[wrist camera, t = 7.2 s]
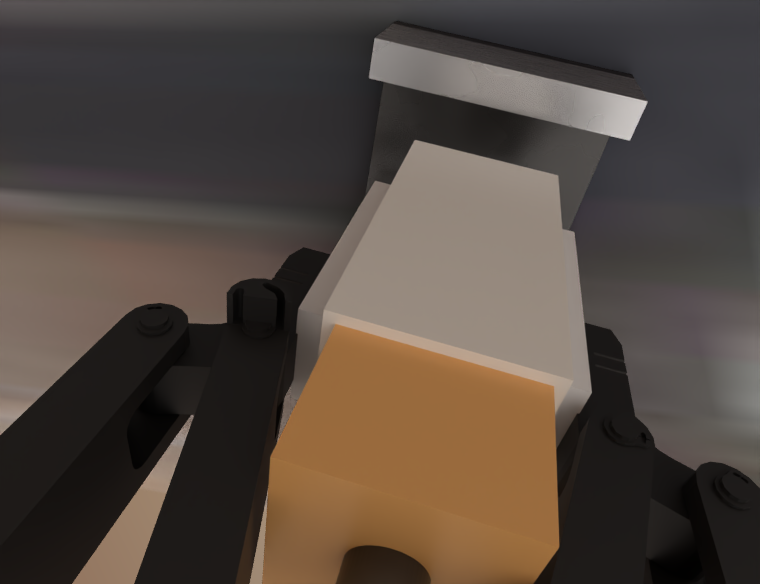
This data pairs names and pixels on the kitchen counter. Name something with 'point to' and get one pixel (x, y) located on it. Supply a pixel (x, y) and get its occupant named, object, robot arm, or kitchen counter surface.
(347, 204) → the kitchen counter surface
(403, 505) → the plug
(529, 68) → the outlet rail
